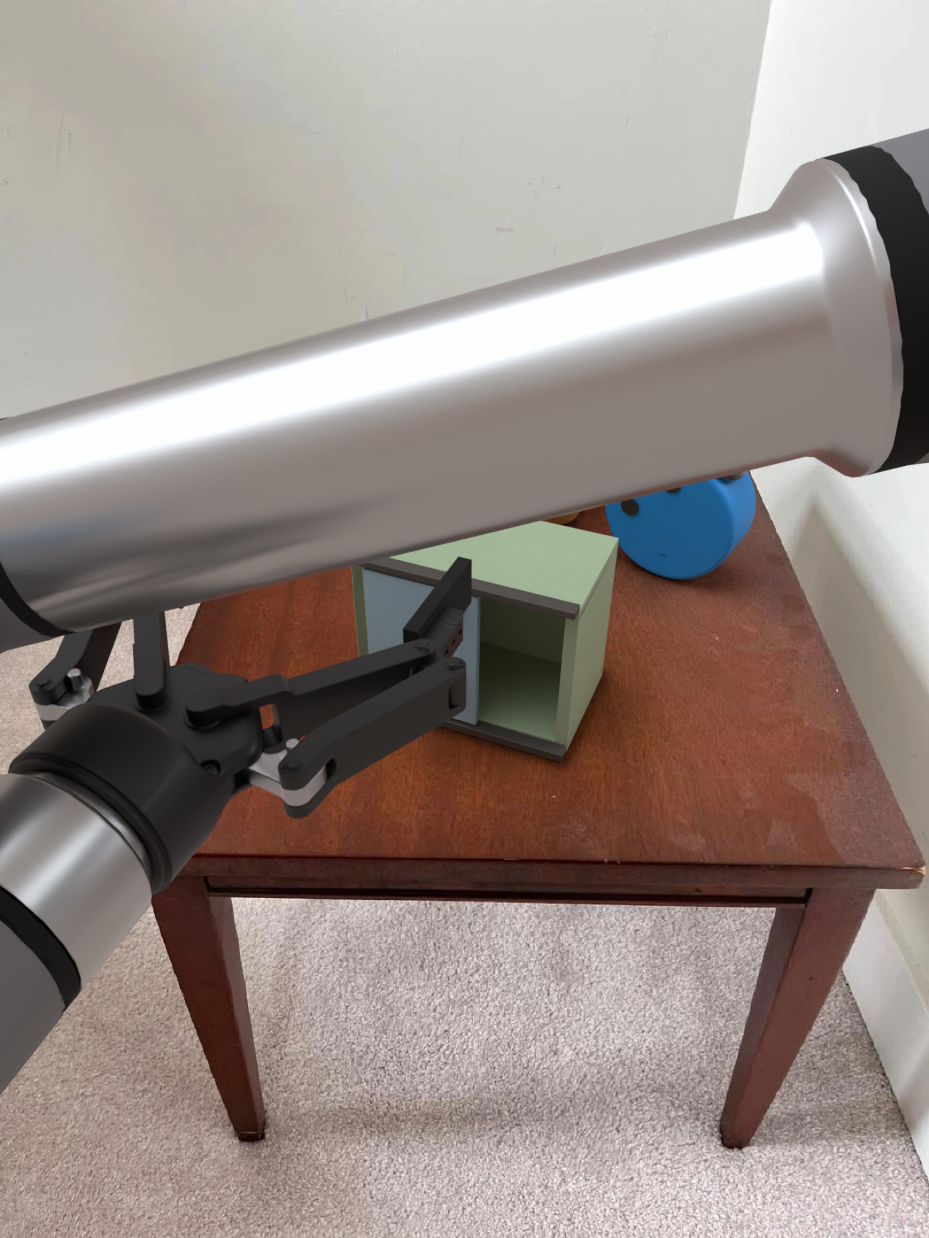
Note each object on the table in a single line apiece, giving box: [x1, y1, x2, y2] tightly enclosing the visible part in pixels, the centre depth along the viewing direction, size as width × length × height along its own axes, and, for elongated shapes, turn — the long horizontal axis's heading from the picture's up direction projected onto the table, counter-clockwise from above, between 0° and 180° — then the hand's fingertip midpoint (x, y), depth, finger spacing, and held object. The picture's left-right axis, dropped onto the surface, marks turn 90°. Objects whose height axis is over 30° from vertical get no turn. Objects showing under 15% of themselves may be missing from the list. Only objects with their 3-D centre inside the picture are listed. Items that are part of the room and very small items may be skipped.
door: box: [363, 568, 481, 730], centre depth 70 cm, size 6×9×12 cm, turn 67°
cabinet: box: [350, 521, 619, 763], centre depth 75 cm, size 11×18×14 cm, turn 67°
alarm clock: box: [604, 471, 757, 580], centre depth 90 cm, size 13×6×15 cm, turn 55°
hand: (349, 550), depth 51 cm, fingers open, 13 cm apart
